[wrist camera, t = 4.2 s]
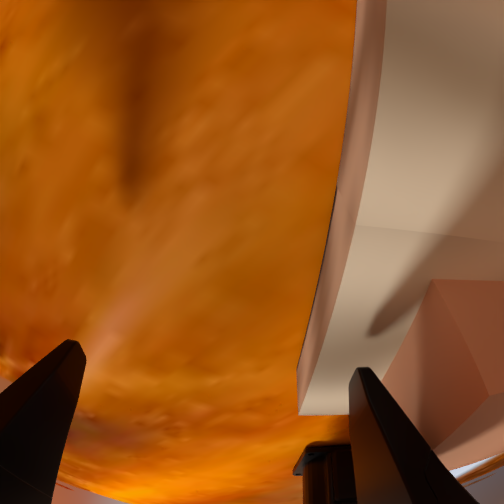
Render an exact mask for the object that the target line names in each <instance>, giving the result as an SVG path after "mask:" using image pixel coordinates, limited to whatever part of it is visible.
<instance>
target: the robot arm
mask: <svg viewBox="0 0 504 504" xmlns="http://www.w3.org/2000/svg"><path fill="white" fill-rule="evenodd" d="M85 366H86V356H85V354H84V352H83V350H82V348H81V345H80V344H79V342H78V341H75V340H70V339H67V340H65V341H64V342H63V343H61V344H60V345H59V346H58V347H56V348H55V349H54V350H53V351H51V352H50V353H49V354H48V355H46V356H45V357H44V358H43V359H41V360H40V361H39V362H38V363H36V364H35V365H34V366H33V367H31V368H30V369H29V370H28V371H27V372H25V373H24V374H23V375H22V376H21V377H19V378H18V379H17V380H16V381H15V382H13V383H12V384H11V385H10V386H9V387H7V388H6V389H5V390H4V391H3V392H1V393H0V504H51V502H52V497H53V491H54V487H55V483H56V478H57V474H58V470H59V466H60V462H61V458H62V454H63V450H64V446H65V443H66V439H67V436H68V432H69V429H70V425H71V422H72V419H73V415H74V412H75V409H76V405H77V402H78V398H79V393H80V389H81V384H82V379H83V375H84V370H85ZM348 391H349V431H350V440H351V446H339V447H312V448H307V449H305V450H304V452H303V453H302V455H301V457H300V459H299V460H298V462H297V464H296V466H295V467H294V469H293V475H294V476H303V504H480V503H478V502H477V501H476V500H475V499H474V498H473V497H472V496H471V494H470V493H469V492H468V491H467V490H466V489H465V488H464V487H463V486H462V485H461V484H460V483H459V482H458V481H457V480H456V478H455V477H454V476H453V475H452V474H451V473H450V472H449V471H448V469H447V468H446V467H445V466H444V464H443V463H442V462H441V461H440V459H439V458H438V457H437V455H436V454H435V453H434V451H433V450H431V447H430V446H429V445H428V443H427V442H426V441H425V439H424V438H423V436H422V435H421V434H420V432H419V431H418V430H417V428H416V427H415V426H414V424H413V423H412V422H411V420H410V419H409V418H408V416H407V415H406V414H405V412H404V411H403V410H402V408H401V407H400V406H399V404H398V403H397V402H396V400H395V399H394V398H393V397H392V395H391V394H390V393H389V391H388V390H387V389H386V387H385V386H384V385H383V383H382V382H381V381H380V379H379V378H378V377H377V376H376V374H375V373H374V372H373V370H372V369H371V368H370V367H357V368H356V369H355V371H354V373H353V375H352V377H351V380H350V382H349V387H348Z"/></svg>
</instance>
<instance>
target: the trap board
mask: <svg viewBox="0 0 504 504" xmlns="http://www.w3.org/2000/svg"><path fill="white" fill-rule="evenodd" d="M432 279H451V280H484V281H504V0H357V12H356V28H355V41H354V53H353V64H352V74H351V84H350V93H349V102H348V110H347V118H346V125H345V133H344V140H343V147H342V154H341V160H340V167H339V173H338V179H337V185H336V191H335V197H334V203H333V209H332V214H331V220H330V225H329V230H328V235H327V240H326V246H325V251H324V255H323V260H322V265H321V270H320V274H319V279H318V284H317V288H316V293H315V297H314V301H313V306H312V310H311V314H310V319H309V323H308V327H307V331H306V335H305V339H304V343H303V347H302V351H301V355H300V358H299V362H298V366H297V392H298V415H345V414H349V391H348V387H349V382H350V380H351V377H352V375H353V373H354V371H355V369H356V368H357V367H370V368H371V369H372V370H373V372H374V373H375V374H376V376H377V377H378V378H379V379H380V381H382V379H383V377H384V375H385V374H386V372H387V370H388V368H389V367H390V365H391V363H392V361H393V359H394V357H395V356H396V354H397V352H398V350H399V348H400V346H401V344H402V342H403V340H404V338H405V336H406V334H407V332H408V330H409V328H410V326H411V324H412V322H413V320H414V318H415V316H416V314H417V312H418V310H419V307H420V305H421V303H422V301H423V299H424V296H425V294H426V292H427V289H428V287H429V285H430V282H431V280H432Z"/></svg>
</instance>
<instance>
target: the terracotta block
mask: <svg viewBox="0 0 504 504" xmlns="http://www.w3.org/2000/svg"><path fill="white" fill-rule="evenodd" d="M381 382H382V383H383V385H384V386H385V387H386V389H387V390H388V391H389V393H390V394H391V395H392V397H393V398H394V399H395V400H396V402H397V403H398V404H399V406H400V407H401V408H402V410H403V411H404V412H405V414H406V415H407V416H408V418H409V419H410V420H411V422H412V423H413V424H414V426H415V427H416V428H417V430H418V431H419V432H420V434H421V435H422V436H423V438H424V439H425V441H426V442H427V443H428V445H429V446H430V447H431V450H433V451H434V453H435V454H436V455H437V457H438V458H439V459H440V461H441V462H442V463H443V464H444V466H445V467H446V468H447V469H448V471H450V470H453V469H457V468H460V467H463V466H466V465H469V464H472V463H475V462H478V461H481V460H484V459H486V458H489V457H492V456H494V455H497V454H500V453H502V452H504V281H484V280H451V279H432V280H431V282H430V285H429V287H428V289H427V292H426V294H425V296H424V299H423V301H422V303H421V305H420V307H419V310H418V312H417V314H416V316H415V318H414V320H413V322H412V324H411V326H410V328H409V330H408V332H407V334H406V336H405V338H404V340H403V342H402V344H401V346H400V348H399V350H398V352H397V354H396V356H395V357H394V359H393V361H392V363H391V365H390V367H389V368H388V370H387V372H386V374H385V375H384V377H383V379H382V381H381Z"/></svg>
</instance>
